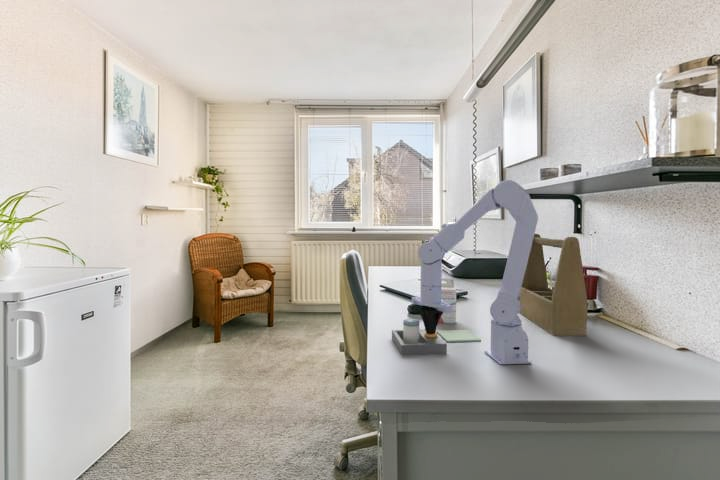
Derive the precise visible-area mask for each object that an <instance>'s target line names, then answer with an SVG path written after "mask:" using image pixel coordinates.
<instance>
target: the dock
mask: <svg viewBox="0 0 720 480" xmlns="http://www.w3.org/2000/svg"><path fill="white" fill-rule="evenodd" d="M425 332H426V330H425V328H424V329H423V328H422V329H421V328H419V343H418V344H404V343H403V329H392V330H391V340H392V341H393V343H394V344H395V346H396V348H397V350H398V352H399V354H400V355H402V356H403V355H405V356H407V355H408V356H409V355H430V354H431V355H434V354H435V355H436V354H437V355H438V354H447V352H448V350H447V346H448V345H447V342H446V341H445V340H444V339H443V338H442V337H441V336H440V335H439V334H437V338H426V337H425V336H424V333H425Z"/></svg>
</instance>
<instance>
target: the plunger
mask: <svg viewBox="0 0 720 480" xmlns="http://www.w3.org/2000/svg"><path fill="white" fill-rule="evenodd" d="M437 335H438V333H437V331H435V334H427V333H426V332H425V333H424V336H425V337H426V338H437Z"/></svg>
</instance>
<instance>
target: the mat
mask: <svg viewBox="0 0 720 480" xmlns="http://www.w3.org/2000/svg"><path fill="white" fill-rule="evenodd" d="M436 333H437V335H438V336H439V337H440V338H441V339H442V340H443V341H444V342H445V343H460V342H461V343H462V342H463V343H465V342H466V343H467V342H482V339H481V338H480V337H478V336H477V335H475V334H474V333H473V332H471V331H470V330H469V329H455V330H454V329H448V330H445V329H444V330H436Z"/></svg>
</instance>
